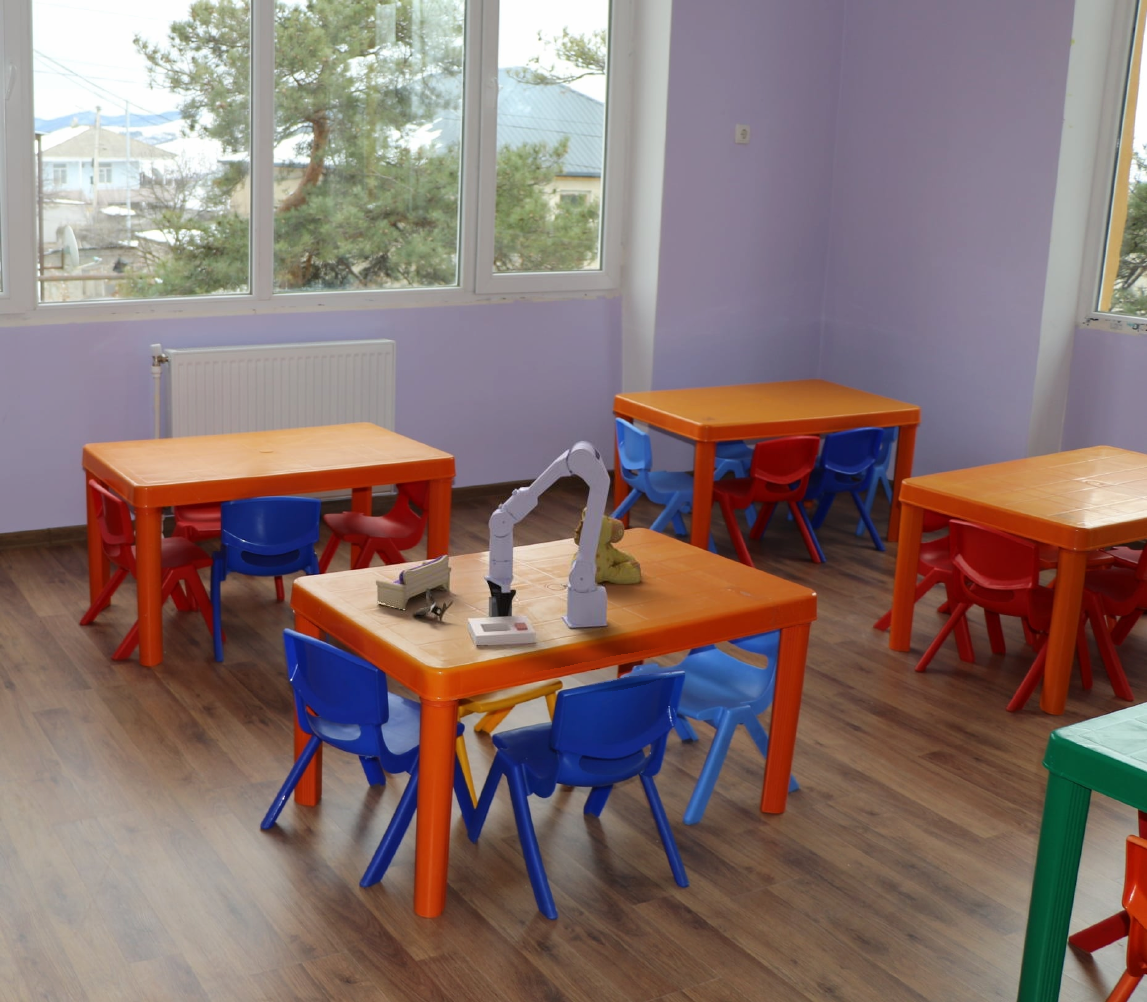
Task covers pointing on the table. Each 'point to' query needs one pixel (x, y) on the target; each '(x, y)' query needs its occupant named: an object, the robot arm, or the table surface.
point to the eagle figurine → (432, 606)
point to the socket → (501, 630)
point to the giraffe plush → (611, 554)
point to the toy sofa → (415, 582)
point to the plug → (493, 608)
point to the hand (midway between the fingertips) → (500, 611)
